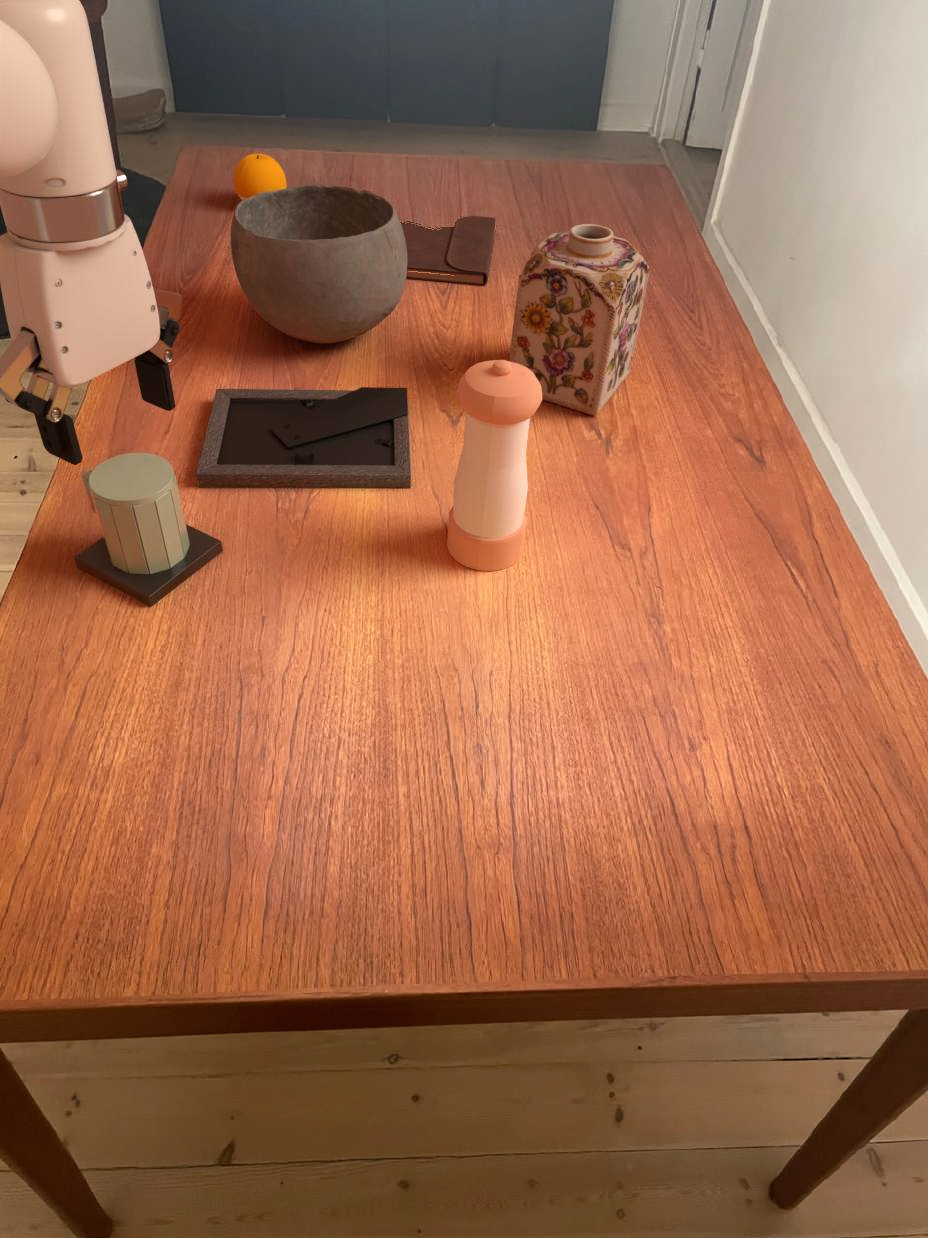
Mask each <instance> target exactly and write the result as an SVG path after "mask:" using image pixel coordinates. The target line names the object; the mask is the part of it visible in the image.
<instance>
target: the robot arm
mask: <svg viewBox="0 0 928 1238" xmlns="http://www.w3.org/2000/svg"><path fill="white" fill-rule="evenodd" d="M81 2H82V1H80V0H0V209H1V213H2V217H3V220H4V223H5V227H6V233H3V234H1V235H0V291H1V295H2V301H3V308H4V311H5V317H6V323H7V326H8V331H9V335H10V339H11V343H10V344H9V346H8V347H7V349H6V350H5V351H4V352H3V353H2V354H1V356H0V395H1V396H2V397H3V398H4V399H5V401H6V402H8V403H9V404H11V405H13V406H15V407H18V408H20V409H21V410H24V411H26V412H29V413H31V414H33V416H34V418H35V421H36V426H37V430H38V431H39V432H38V433H39V435H40V438H41V439H40V440H41V443H42V445H43V447H44V449H45V451H46V452H47V453H48V454H50V455H52V456H55V458H58V459H60V460H62V461H65V462H67V463H69V464H70V465H73V466H77V465H79V464H80V463H82V461H83V454H82V450H81V446H80V442H79V439H78V434H77V431H76V427H75V423H74V419H73V418H72V417H71V416H70V415H68V414H66V413H65V411H66V408H67V405H68V403H69V400H70V396H71V394H72V392H73V388H75V387H79V386H81V385H83V384H85V383H87V382H89V381H91V380H93V379H96V378H97V377H100V376H101V375H103V374H105V373H107V372H110V371H111V370H113V369H115V368H117V367H119V366H121V365H123V364H126V363H127V362H129V361H131V360H133V359H134V367H135V370H136V376H137V380H138V386H139V392H140V397H141V399H142V400H143V402H146V403H148V404H150V405H153V406H155V407H157V408H160V409H162V410H164V411H168V412H171V411H172V410H174V409H175V408H176V401H175V395H174V389H173V384H172V383H173V382H172V378H171V372H170V366H169V364H170V363H171V362H172V361H173V360H174V358H175V351H174V349H173V346H174V344H175V342H176V341H177V340H176V339H177V337H178V335H179V332H180V328H181V327H180V324H179V320H180V318H181V313H182V309H183V303H184V296H183V295H182V294H181V293H179V292H176V291H173V290H170V289H166V288H163V287H162V288H161V287H157V286H153V282H152V276H151V274H150V270H149V267H148V263H147V260H146V258H145V257H146V256H145V254H144V250H143V247H142V245H141V242H140V239H139V236H138V233H137V232H136V228H135V227H134V224H133V222H132V220H131V218H130V217H129V216H128V215H127V214H125V211H124V207H123V202H122V194H121V192H123V191H125V190H127V189H128V185H129V182H128V179H127V176H126V175H125V174H124V172H123V171H122V170H120V169H117V168H116V164H115V159H114V158H115V157H114V153H113V147H112V141H111V136H110V131H109V125H108V120H107V115H106V109H105V104H104V98H103V93H102V88H101V83H100V78H99V72H98V65H97V62H96V57H95V56H96V55H95V52H94V45H93V40H92V36H91V29H90V25H89V21H88V18H87V13H86V11H85V8H84V6H83V5H82V3H81ZM25 373H32V374H31V377H30V379H29V383H28V386H27V389H26V388H25V386H23V384H22V381H21V379H22V376H23V375H24V374H25ZM50 383H52V384H53V385H52V387H51V390H50V394H49V397H48V399H47V400H46V399H45V398H46V395H47V392H48V388H49V386H50Z"/></svg>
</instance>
